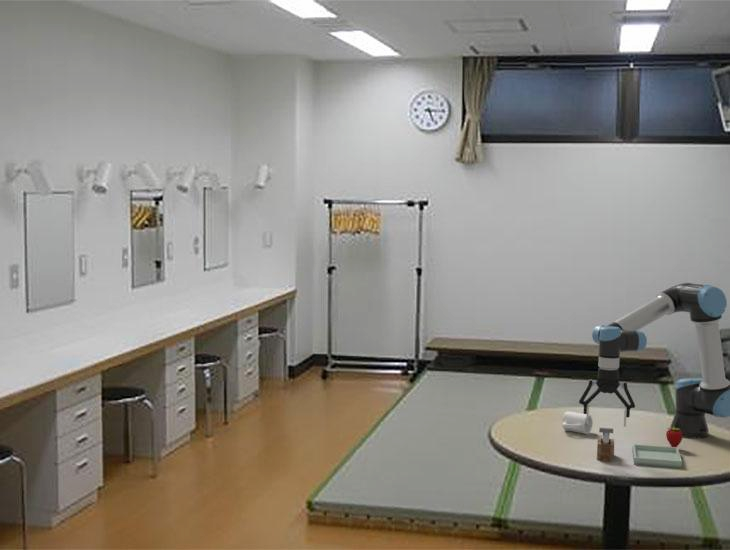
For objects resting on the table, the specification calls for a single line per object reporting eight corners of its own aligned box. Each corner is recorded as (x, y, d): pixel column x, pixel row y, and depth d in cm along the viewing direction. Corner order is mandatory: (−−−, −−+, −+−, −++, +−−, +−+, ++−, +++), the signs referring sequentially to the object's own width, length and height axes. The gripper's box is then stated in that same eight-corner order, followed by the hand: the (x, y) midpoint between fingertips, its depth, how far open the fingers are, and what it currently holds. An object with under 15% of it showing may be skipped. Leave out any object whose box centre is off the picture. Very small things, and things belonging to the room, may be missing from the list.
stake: (612, 456, 354) (613, 428, 353) (612, 458, 352) (613, 429, 351) (598, 455, 355) (599, 427, 354) (598, 457, 353) (599, 428, 352)
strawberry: (670, 451, 363) (671, 426, 362) (662, 446, 370) (663, 421, 369) (685, 451, 363) (686, 426, 362) (677, 446, 371) (678, 421, 370)
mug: (570, 428, 397) (571, 409, 396) (592, 432, 391) (593, 413, 390) (557, 433, 388) (557, 414, 387) (579, 437, 381) (579, 418, 381)
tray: (677, 453, 359) (677, 447, 359) (681, 468, 340) (682, 461, 340) (632, 450, 363) (632, 444, 363) (634, 464, 344) (634, 457, 344)
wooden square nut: (597, 453, 358) (597, 437, 358) (613, 454, 357) (613, 439, 357) (596, 460, 348) (597, 444, 348) (613, 462, 347) (614, 446, 346)
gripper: (643, 368, 351) (640, 424, 353) (574, 364, 357) (572, 419, 359) (643, 372, 344) (640, 429, 346) (574, 367, 350) (571, 423, 352)
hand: (605, 424), depth 352 cm, fingers open, 13 cm apart
